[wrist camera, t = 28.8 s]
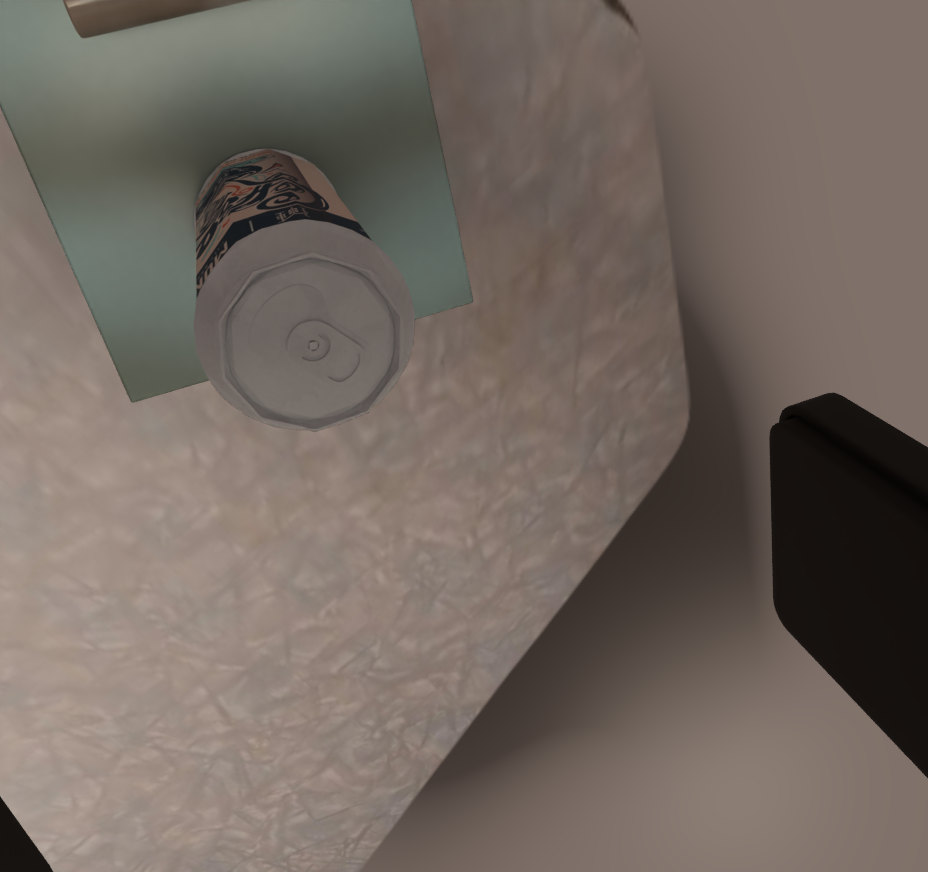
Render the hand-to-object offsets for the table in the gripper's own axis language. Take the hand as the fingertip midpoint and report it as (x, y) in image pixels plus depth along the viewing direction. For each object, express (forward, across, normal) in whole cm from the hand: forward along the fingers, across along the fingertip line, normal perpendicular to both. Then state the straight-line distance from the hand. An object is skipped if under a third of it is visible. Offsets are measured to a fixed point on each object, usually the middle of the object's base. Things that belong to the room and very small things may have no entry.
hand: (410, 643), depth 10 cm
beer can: (+22, 0, 0) cm, 22 cm away
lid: (+22, 0, -2) cm, 23 cm away
